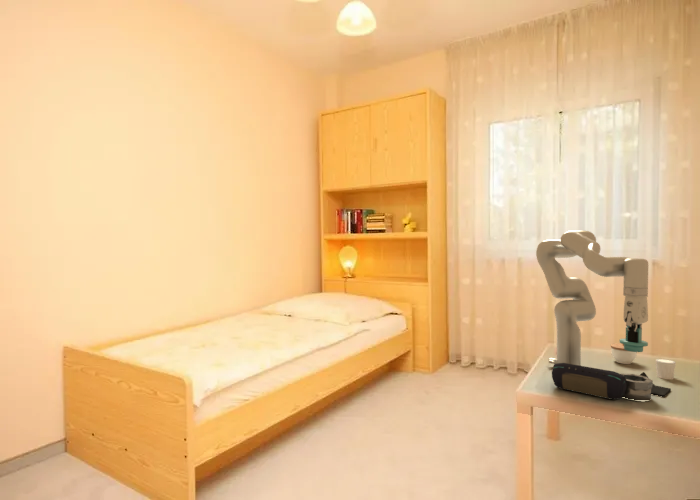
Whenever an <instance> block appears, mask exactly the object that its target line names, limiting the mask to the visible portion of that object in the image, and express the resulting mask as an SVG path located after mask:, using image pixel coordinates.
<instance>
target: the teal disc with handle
mask: <svg viewBox="0 0 700 500" xmlns="http://www.w3.org/2000/svg"><path fill="white" fill-rule="evenodd" d="M627 329H628V327H627V326H626V327H625V338H620V339H619V341H618V342H619V344H624V350H627V351H631V352H637V353H643V352H644V347H648V345H649V342H648V341H645V340H642V339H643V336H642V335H643V334H642V333H643V332H642V331H643V328H642V329H641V328H637V332H638V343H634V342H628V330H627Z"/></svg>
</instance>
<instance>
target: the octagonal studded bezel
mask: <svg viewBox="0 0 700 500" xmlns="http://www.w3.org/2000/svg"><path fill="white" fill-rule="evenodd" d="M621 374H622V375H623V376H625V378H626V384H627V386H626V392H625V393H624V395H623V396H622V397H625V398H628V399H634V400H650V399H651V400H652V395H651V388H653V384H654V383H653V381H654V380H653V379H651V378H649V377H648V378H647V377H645V376H640V374H635V373H621Z"/></svg>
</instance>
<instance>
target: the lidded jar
mask: <svg viewBox="0 0 700 500" xmlns="http://www.w3.org/2000/svg"><path fill="white" fill-rule="evenodd" d="M610 352H611V356H612V358H613V359H614V360H615V362H616V363H618V364H623V365H631V364H632V363H633V362H635V360H636V358H637V355H638V352H631V351H627V350H624V344H621V343H612V344H610Z"/></svg>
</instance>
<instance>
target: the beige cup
mask: <svg viewBox="0 0 700 500" xmlns="http://www.w3.org/2000/svg"><path fill="white" fill-rule="evenodd" d="M655 368H656V369H655V370H656V377H657V378H660V379H663V380H674V377H675V371H676V370H675V368H676V361H674V360H671V359H665V358H656V359H655Z"/></svg>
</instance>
